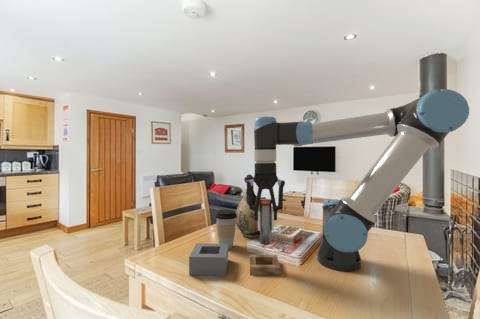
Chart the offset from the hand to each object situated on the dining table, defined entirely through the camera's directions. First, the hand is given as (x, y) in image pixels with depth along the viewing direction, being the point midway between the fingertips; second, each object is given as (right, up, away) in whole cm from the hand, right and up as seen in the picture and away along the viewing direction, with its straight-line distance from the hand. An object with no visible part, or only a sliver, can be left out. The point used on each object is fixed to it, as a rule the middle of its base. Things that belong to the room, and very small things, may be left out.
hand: (265, 229), depth 86 cm
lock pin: (0, -5, 0) cm, 5 cm away
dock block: (-20, -13, +1) cm, 24 cm away
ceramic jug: (-4, -13, +35) cm, 37 cm away
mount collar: (-1, -14, 0) cm, 14 cm away
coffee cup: (-15, -13, +20) cm, 28 cm away
